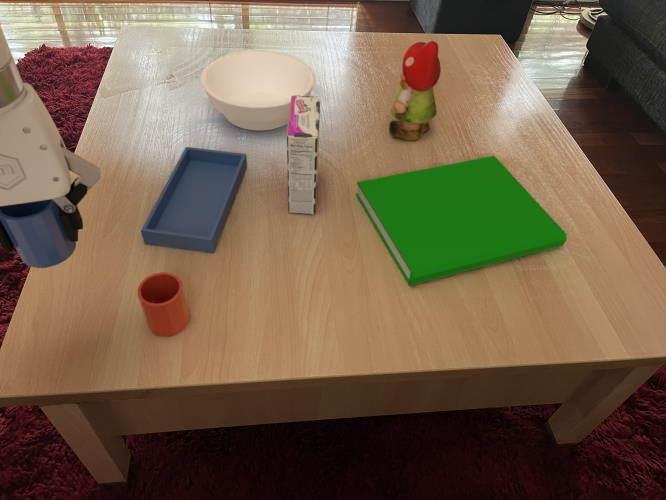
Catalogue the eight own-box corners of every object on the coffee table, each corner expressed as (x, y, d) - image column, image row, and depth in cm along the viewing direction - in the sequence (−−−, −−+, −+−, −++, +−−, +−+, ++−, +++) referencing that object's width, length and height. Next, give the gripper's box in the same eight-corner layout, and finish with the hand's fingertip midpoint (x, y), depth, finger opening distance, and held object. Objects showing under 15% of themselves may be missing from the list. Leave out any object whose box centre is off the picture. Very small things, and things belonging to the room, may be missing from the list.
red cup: (182, 339, 71) (173, 308, 66) (142, 333, 72) (130, 302, 67) (194, 306, 75) (187, 275, 70) (156, 301, 75) (146, 269, 70)
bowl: (329, 133, 107) (331, 96, 101) (219, 153, 100) (215, 115, 94) (293, 79, 121) (293, 43, 115) (195, 93, 114) (190, 56, 108)
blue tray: (213, 253, 82) (211, 239, 80) (144, 244, 83) (140, 230, 81) (247, 167, 98) (246, 153, 96) (188, 159, 98) (185, 146, 96)
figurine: (397, 113, 113) (413, 20, 99) (436, 123, 111) (458, 30, 97) (382, 140, 106) (396, 44, 92) (423, 151, 104) (444, 55, 90)
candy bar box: (290, 173, 97) (290, 93, 85) (317, 175, 97) (321, 95, 85) (286, 214, 89) (285, 133, 78) (315, 216, 90) (319, 135, 78)
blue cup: (61, 271, 56) (38, 223, 51) (10, 264, 56) (-17, 215, 51) (85, 235, 60) (66, 187, 55) (37, 228, 60) (14, 180, 55)
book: (355, 194, 94) (357, 181, 92) (489, 168, 102) (494, 155, 100) (410, 288, 80) (413, 275, 78) (561, 248, 88) (568, 236, 85)
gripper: (-168, 118, 39) (-54, 278, 52) (80, 95, 43) (128, 248, 56) (-138, 70, 44) (-41, 227, 57) (82, 54, 48) (126, 203, 61)
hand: (43, 236), depth 56 cm, fingers closed on blue cup, 5 cm apart
